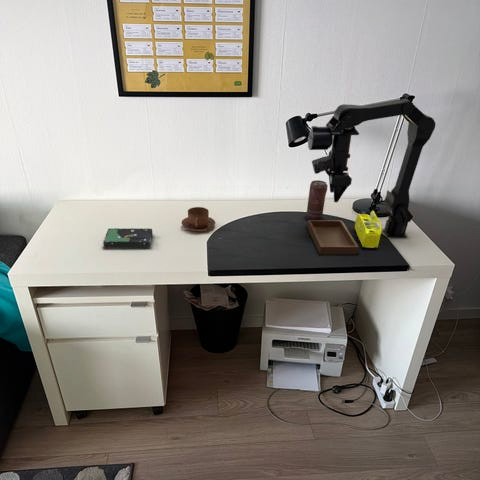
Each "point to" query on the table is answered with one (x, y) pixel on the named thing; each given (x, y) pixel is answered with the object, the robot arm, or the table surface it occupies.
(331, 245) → the tray
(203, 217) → the cup and saucer
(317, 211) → the can
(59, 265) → the table surface
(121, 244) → the disk drive
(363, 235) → the yellow toy chassis
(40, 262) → the table surface
